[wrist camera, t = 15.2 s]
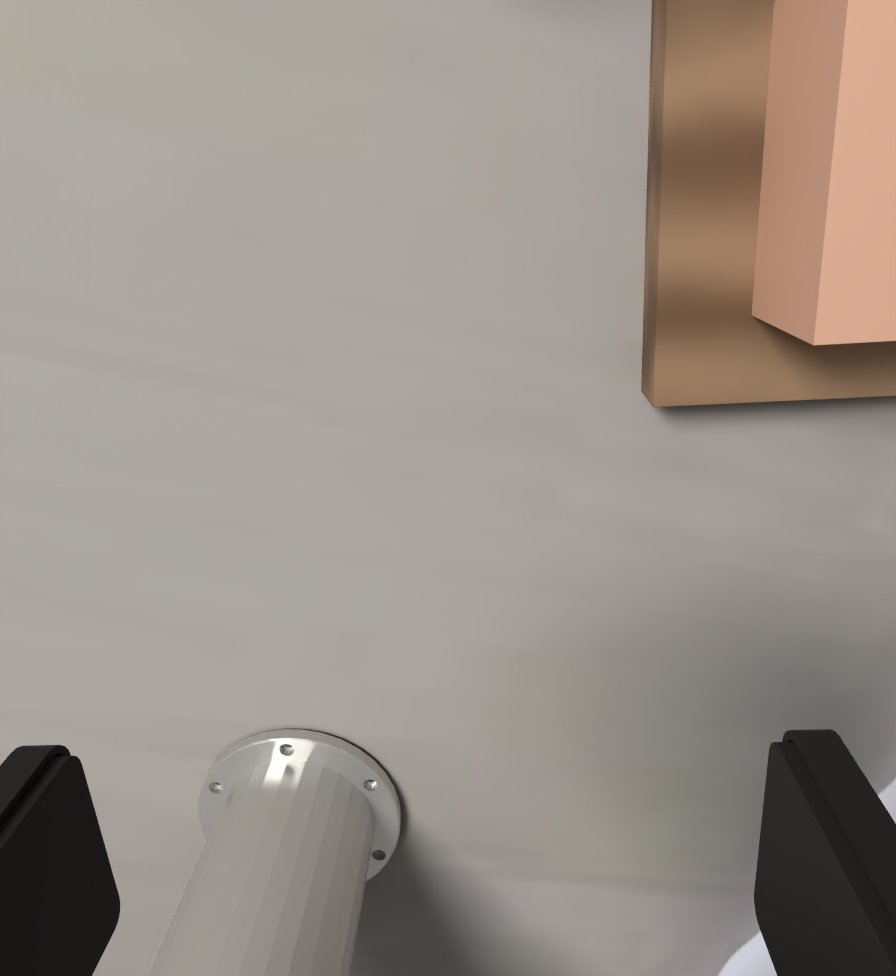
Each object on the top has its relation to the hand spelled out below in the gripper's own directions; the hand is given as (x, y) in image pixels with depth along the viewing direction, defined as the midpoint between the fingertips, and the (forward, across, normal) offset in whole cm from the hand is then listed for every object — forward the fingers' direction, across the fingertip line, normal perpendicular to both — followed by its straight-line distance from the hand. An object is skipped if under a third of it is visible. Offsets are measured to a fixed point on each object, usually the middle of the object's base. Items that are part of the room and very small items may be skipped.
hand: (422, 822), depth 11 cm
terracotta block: (+27, -15, -8) cm, 32 cm away
